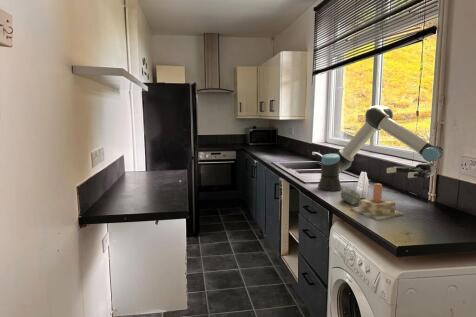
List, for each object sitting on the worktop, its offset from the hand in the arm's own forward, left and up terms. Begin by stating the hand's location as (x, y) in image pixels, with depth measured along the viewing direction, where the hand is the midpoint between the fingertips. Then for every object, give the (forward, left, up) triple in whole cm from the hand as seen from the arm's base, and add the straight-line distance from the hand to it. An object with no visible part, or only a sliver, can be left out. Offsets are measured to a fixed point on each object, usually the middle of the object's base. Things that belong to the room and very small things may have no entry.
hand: (397, 172), depth 172 cm
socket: (+2, -16, -19) cm, 25 cm away
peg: (+2, -16, -18) cm, 24 cm away
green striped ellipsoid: (-18, -15, -19) cm, 30 cm away
